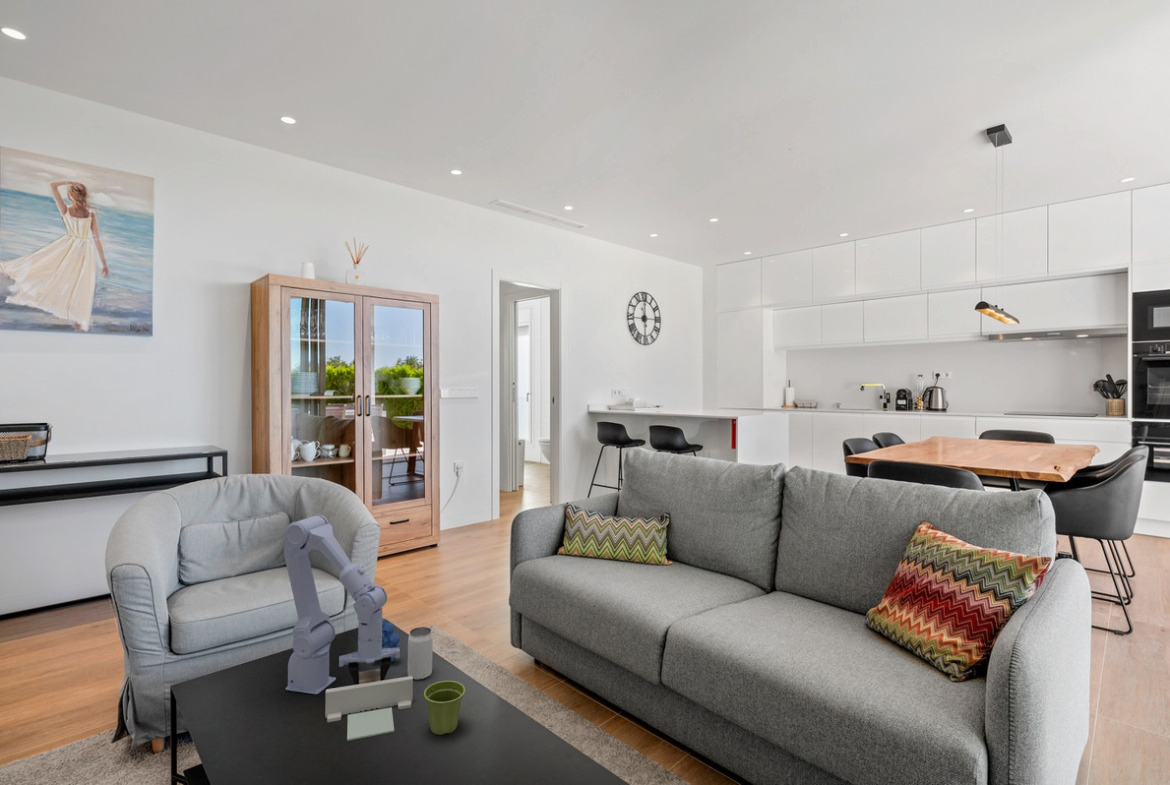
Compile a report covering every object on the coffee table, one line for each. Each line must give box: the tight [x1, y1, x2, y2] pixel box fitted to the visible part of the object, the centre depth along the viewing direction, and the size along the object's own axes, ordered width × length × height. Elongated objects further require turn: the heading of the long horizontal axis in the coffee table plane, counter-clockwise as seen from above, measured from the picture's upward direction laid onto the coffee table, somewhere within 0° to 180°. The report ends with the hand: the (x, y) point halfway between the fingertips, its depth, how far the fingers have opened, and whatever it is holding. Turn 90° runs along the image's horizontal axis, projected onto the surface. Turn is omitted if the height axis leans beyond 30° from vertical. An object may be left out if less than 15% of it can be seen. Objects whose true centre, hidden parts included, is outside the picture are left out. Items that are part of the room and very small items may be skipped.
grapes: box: [382, 617, 401, 663], centre depth 167 cm, size 12×7×12 cm, turn 64°
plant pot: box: [423, 680, 466, 736], centre depth 136 cm, size 9×9×9 cm
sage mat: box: [346, 706, 395, 742], centre depth 137 cm, size 10×10×1 cm
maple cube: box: [359, 668, 380, 684], centre depth 150 cm, size 5×5×5 cm
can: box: [407, 626, 434, 681], centre depth 160 cm, size 6×6×12 cm
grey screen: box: [324, 675, 414, 723], centre depth 144 cm, size 20×6×6 cm, turn 111°
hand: (369, 688), depth 150 cm, fingers closed on maple cube, 5 cm apart
